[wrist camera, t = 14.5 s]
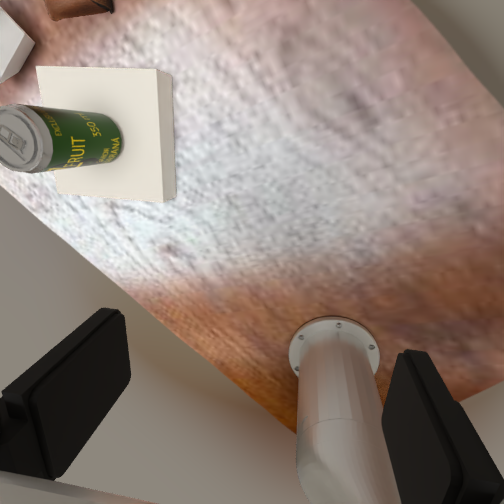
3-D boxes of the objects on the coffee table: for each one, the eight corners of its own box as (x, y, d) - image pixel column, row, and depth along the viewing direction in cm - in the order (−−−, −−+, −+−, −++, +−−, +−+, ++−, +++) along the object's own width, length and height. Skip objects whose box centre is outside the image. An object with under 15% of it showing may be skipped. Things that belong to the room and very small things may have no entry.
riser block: (176, 196, 41) (163, 202, 37) (79, 188, 43) (57, 193, 39) (171, 75, 36) (156, 69, 32) (61, 72, 38) (35, 65, 34)
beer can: (75, 144, 37) (-26, 147, 25) (92, 102, 35) (-9, 86, 23) (113, 172, 37) (30, 188, 26) (133, 132, 35) (52, 131, 24)
